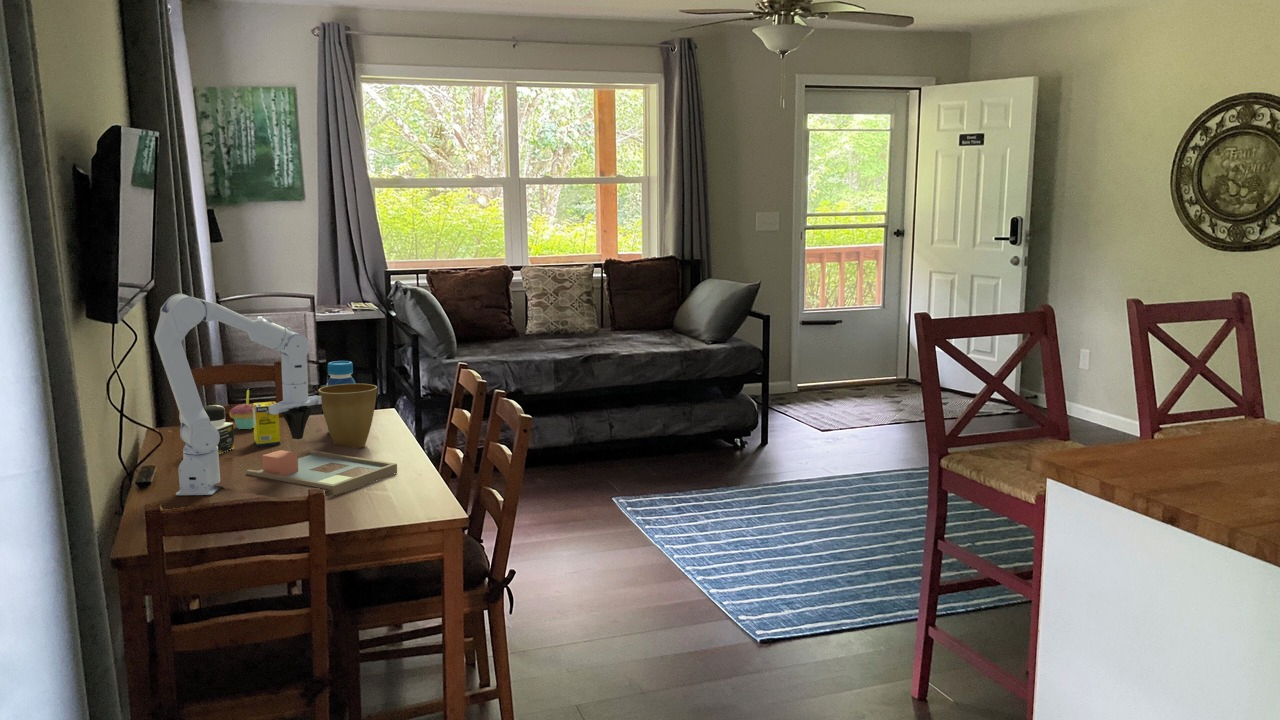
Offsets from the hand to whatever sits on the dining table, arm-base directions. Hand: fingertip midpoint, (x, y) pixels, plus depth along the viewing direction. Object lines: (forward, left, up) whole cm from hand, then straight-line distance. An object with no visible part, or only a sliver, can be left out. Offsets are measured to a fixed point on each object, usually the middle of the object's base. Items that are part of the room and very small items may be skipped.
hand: (297, 438), depth 229 cm
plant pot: (+26, -6, -9) cm, 28 cm away
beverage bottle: (+43, 0, -9) cm, 43 cm away
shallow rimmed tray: (-3, -6, -9) cm, 11 cm away
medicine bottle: (+22, +28, -9) cm, 36 cm away
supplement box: (+30, +17, -9) cm, 35 cm away
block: (-5, +3, -7) cm, 9 cm away
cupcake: (+48, +29, -9) cm, 57 cm away
